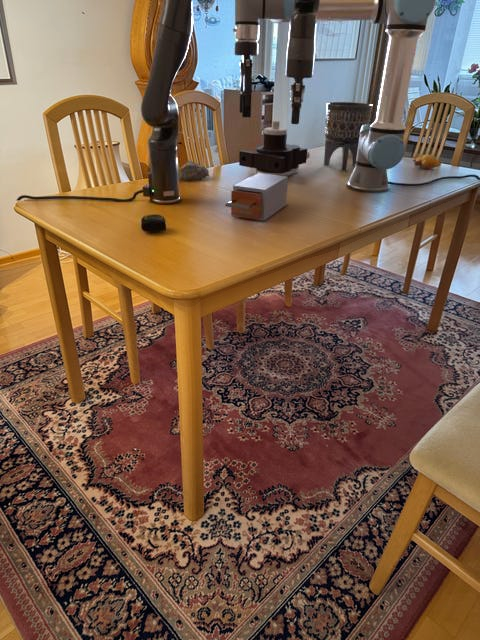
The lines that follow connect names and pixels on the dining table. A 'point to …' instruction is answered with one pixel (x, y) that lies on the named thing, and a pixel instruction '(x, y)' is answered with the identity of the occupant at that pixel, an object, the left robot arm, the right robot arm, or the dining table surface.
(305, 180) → the dining table surface
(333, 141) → the planter
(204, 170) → the rock
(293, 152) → the mechanical component
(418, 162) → the toy
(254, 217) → the drawer
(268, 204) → the grey rectangular box
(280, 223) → the dining table surface
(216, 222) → the dining table surface
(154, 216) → the tape measure
